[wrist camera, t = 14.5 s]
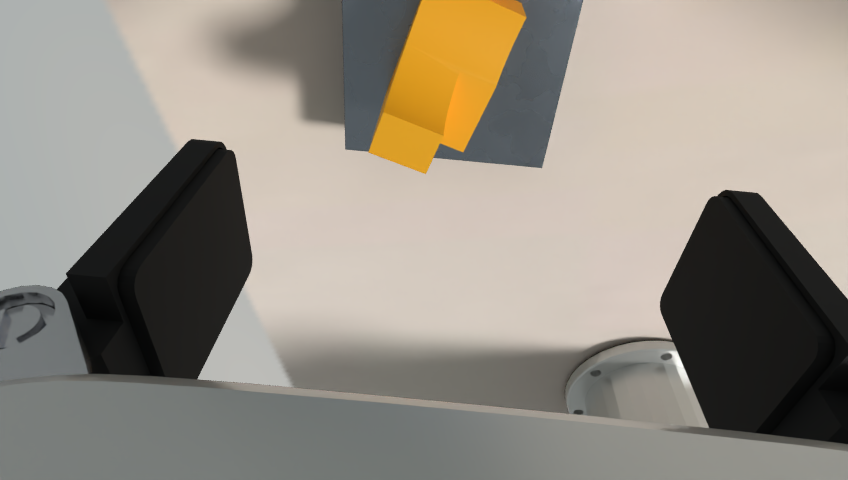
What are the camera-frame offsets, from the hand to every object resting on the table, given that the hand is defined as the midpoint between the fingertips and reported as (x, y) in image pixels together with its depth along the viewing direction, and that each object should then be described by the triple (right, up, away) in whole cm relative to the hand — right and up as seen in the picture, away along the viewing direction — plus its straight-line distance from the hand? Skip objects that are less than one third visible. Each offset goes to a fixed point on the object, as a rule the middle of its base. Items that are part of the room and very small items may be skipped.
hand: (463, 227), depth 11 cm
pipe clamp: (+1, +11, +13) cm, 17 cm away
